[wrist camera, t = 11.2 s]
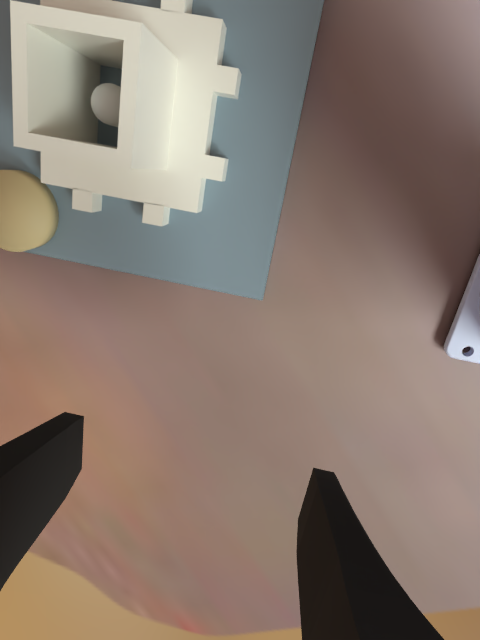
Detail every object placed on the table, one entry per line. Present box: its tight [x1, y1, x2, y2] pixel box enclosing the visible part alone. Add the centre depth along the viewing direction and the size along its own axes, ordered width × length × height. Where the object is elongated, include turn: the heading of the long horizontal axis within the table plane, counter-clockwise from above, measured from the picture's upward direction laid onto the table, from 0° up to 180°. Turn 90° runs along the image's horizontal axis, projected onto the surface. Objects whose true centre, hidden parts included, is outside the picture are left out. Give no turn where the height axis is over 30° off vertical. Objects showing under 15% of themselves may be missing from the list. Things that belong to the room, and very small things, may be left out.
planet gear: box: [10, 0, 242, 226], centre depth 15 cm, size 9×9×5 cm
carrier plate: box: [0, 0, 324, 300], centre depth 16 cm, size 14×14×4 cm
